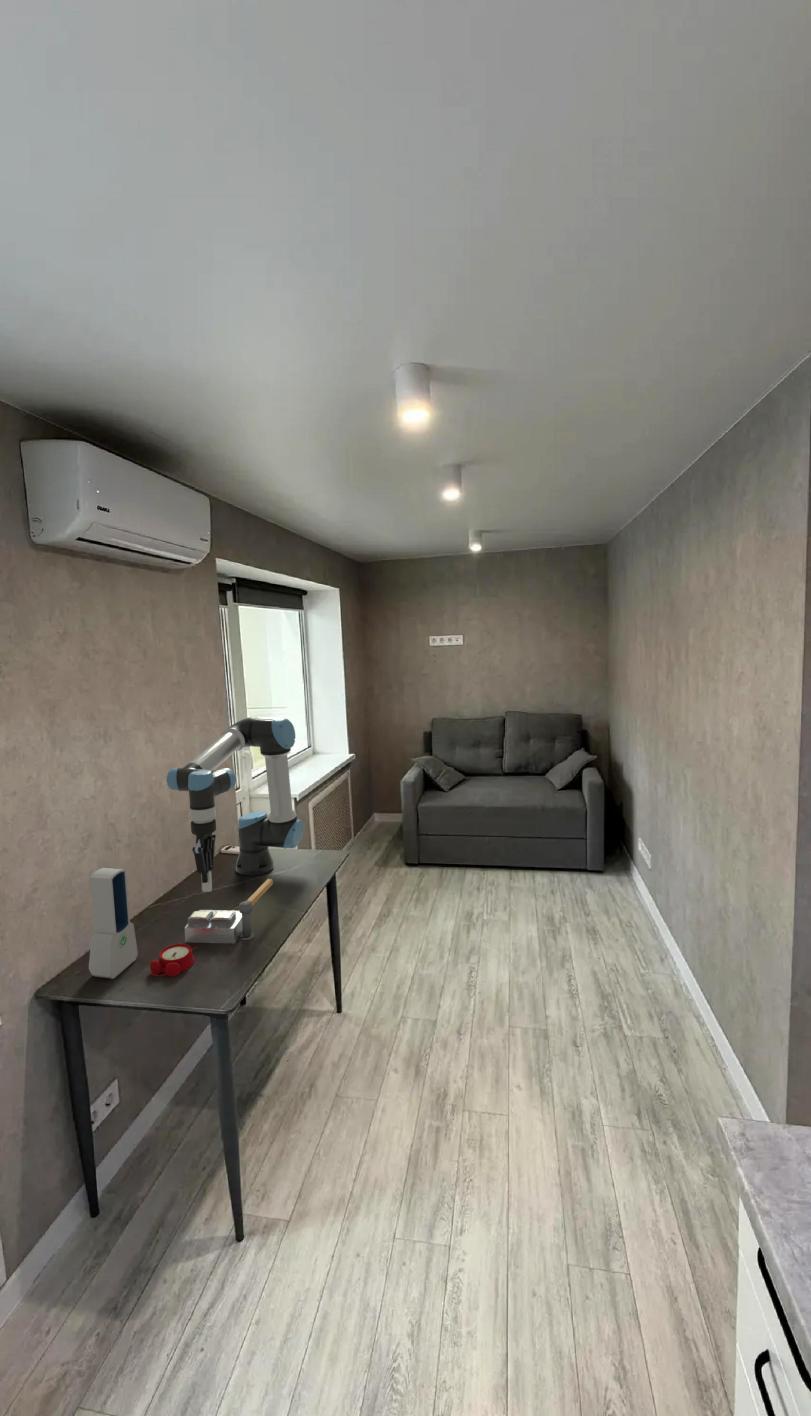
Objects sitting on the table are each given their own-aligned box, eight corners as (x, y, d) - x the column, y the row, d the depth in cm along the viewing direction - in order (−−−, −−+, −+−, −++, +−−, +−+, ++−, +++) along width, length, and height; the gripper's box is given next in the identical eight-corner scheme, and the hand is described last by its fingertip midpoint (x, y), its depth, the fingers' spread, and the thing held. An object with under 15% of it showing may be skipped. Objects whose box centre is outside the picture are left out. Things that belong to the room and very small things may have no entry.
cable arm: (250, 938, 193) (248, 907, 192) (238, 937, 194) (236, 906, 192) (276, 907, 215) (275, 878, 213) (266, 906, 215) (264, 877, 214)
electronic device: (111, 981, 172) (103, 880, 167) (88, 978, 173) (79, 878, 169) (139, 957, 184) (132, 863, 180) (117, 955, 185) (109, 861, 181)
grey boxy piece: (200, 924, 204) (199, 903, 203) (261, 925, 203) (260, 904, 202) (185, 942, 192) (184, 920, 191) (250, 944, 191) (249, 922, 190)
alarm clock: (203, 944, 184) (173, 959, 170) (201, 965, 184) (171, 982, 169) (173, 940, 187) (141, 955, 172) (171, 961, 186) (139, 977, 172)
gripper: (200, 813, 198) (204, 882, 201) (182, 826, 185) (187, 899, 188) (222, 813, 197) (226, 882, 200) (206, 826, 184) (210, 900, 187)
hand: (207, 890), depth 194 cm, fingers closed
